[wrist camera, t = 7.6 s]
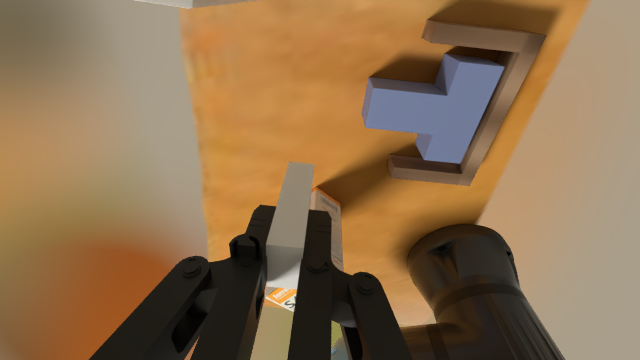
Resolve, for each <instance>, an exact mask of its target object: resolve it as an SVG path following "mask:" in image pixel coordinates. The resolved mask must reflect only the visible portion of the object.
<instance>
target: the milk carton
mask: <svg viewBox="0 0 640 360" xmlns="http://www.w3.org/2000/svg"><path fill="white" fill-rule="evenodd" d="M136 1H142V2H150V3H156V4H163V5H169V6H175V7H182V8H189V9H192V8H199V7H208V6H217V5H225V4H234V3H242V2H251V1H260V0H136Z"/></svg>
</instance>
